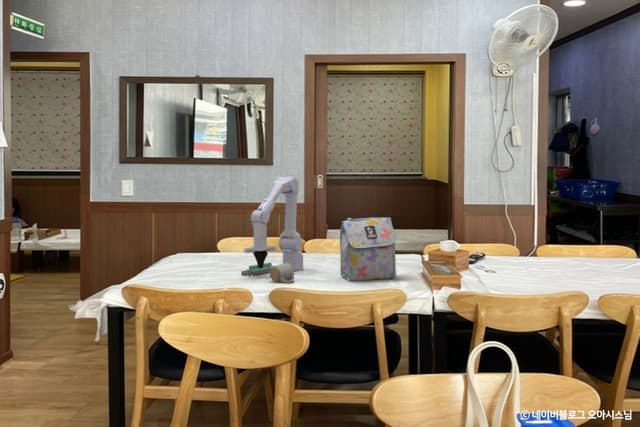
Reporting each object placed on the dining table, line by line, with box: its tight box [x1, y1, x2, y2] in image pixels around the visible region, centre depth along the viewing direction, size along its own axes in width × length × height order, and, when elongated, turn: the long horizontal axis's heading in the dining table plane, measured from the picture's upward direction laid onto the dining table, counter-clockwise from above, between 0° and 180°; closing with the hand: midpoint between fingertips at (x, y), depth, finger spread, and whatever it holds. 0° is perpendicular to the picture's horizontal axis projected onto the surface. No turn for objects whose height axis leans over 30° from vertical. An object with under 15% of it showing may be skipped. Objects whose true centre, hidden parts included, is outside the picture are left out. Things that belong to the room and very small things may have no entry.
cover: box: [245, 262, 274, 272], centre depth 323 cm, size 16×5×2 cm, turn 140°
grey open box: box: [240, 269, 271, 277], centre depth 323 cm, size 17×6×2 cm, turn 133°
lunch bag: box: [339, 217, 397, 282], centre depth 307 cm, size 22×17×26 cm
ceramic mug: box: [269, 263, 295, 284], centre depth 301 cm, size 11×8×8 cm
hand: (260, 268), depth 312 cm, fingers closed
